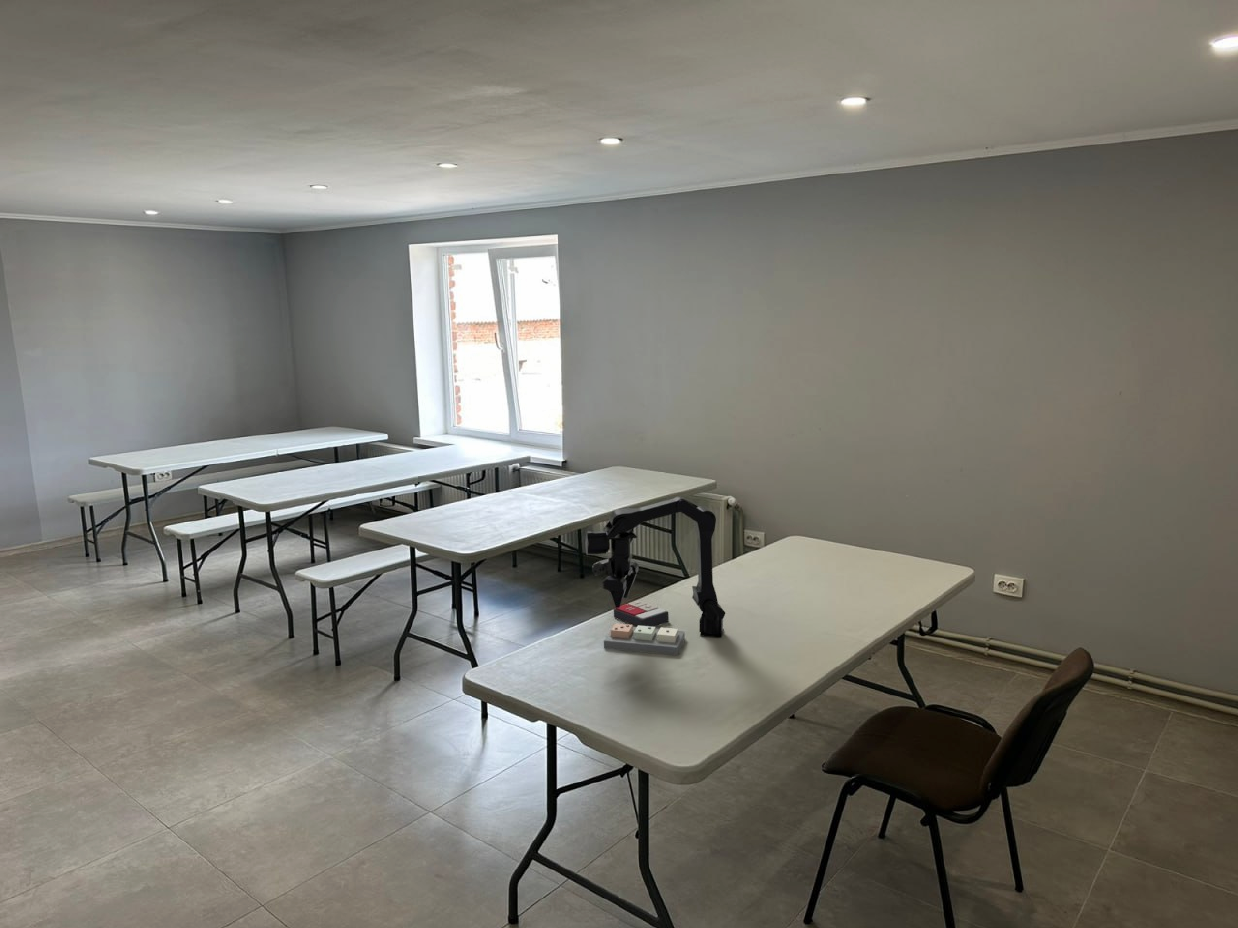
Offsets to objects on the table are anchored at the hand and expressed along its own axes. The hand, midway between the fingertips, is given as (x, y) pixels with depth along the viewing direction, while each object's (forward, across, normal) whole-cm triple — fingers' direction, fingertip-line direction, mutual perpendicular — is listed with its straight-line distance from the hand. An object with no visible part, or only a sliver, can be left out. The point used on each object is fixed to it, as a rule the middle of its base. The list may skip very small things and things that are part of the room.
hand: (621, 602), depth 240 cm
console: (+12, 0, +7) cm, 14 cm away
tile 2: (+10, 0, +7) cm, 12 cm away
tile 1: (+10, 0, +14) cm, 17 cm away
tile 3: (+10, 0, 0) cm, 10 cm away
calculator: (+13, -18, +1) cm, 22 cm away
